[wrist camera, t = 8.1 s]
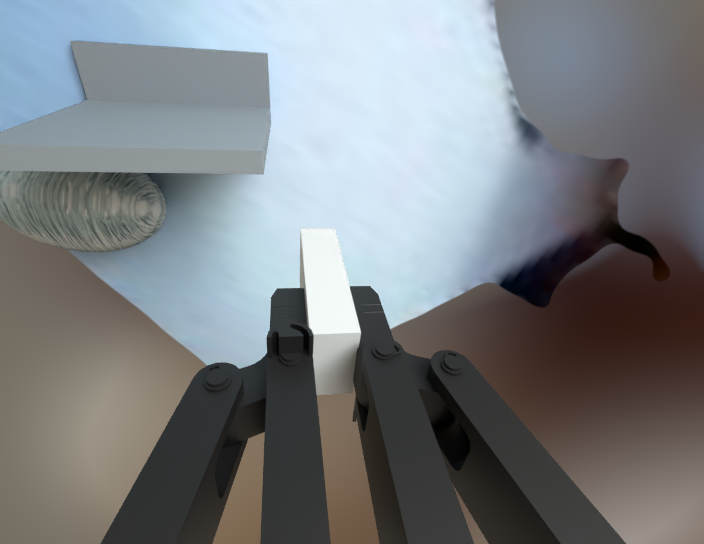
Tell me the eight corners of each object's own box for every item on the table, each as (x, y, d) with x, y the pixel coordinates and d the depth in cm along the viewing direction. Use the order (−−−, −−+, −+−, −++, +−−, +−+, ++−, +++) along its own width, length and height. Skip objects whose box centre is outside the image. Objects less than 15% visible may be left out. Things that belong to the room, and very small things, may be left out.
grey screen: (74, 40, 32) (-77, 50, 18) (267, 53, 34) (256, 69, 21) (96, 116, 35) (-20, 170, 22) (270, 122, 37) (263, 174, 24)
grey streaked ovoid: (4, 240, 37) (-39, 247, 28) (9, 141, 36) (-34, 117, 27) (160, 253, 43) (164, 262, 35) (167, 170, 43) (173, 158, 34)
